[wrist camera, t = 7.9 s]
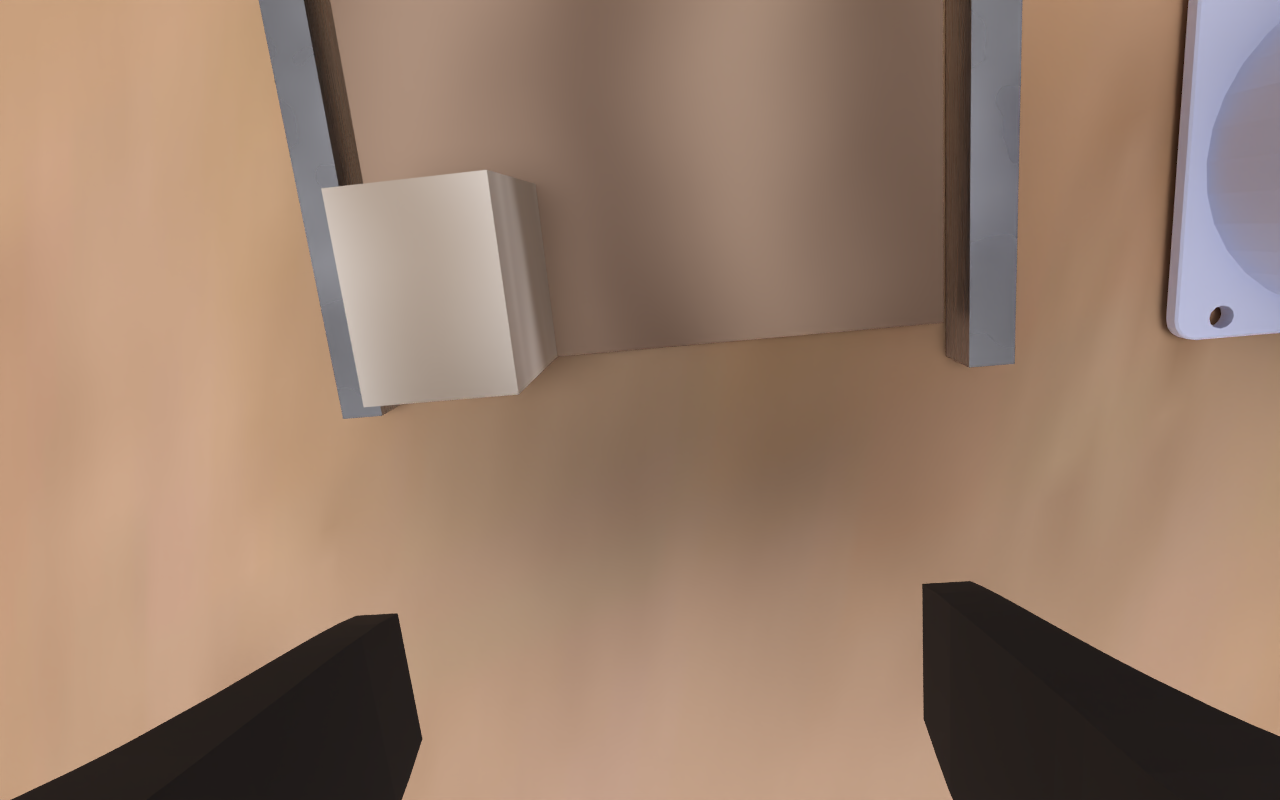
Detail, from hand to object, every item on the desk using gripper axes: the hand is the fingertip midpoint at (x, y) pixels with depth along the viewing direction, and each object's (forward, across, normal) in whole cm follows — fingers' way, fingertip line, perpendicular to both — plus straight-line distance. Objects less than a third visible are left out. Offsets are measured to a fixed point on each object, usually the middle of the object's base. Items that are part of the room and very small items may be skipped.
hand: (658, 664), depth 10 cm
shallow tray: (+9, 0, -11) cm, 14 cm away
